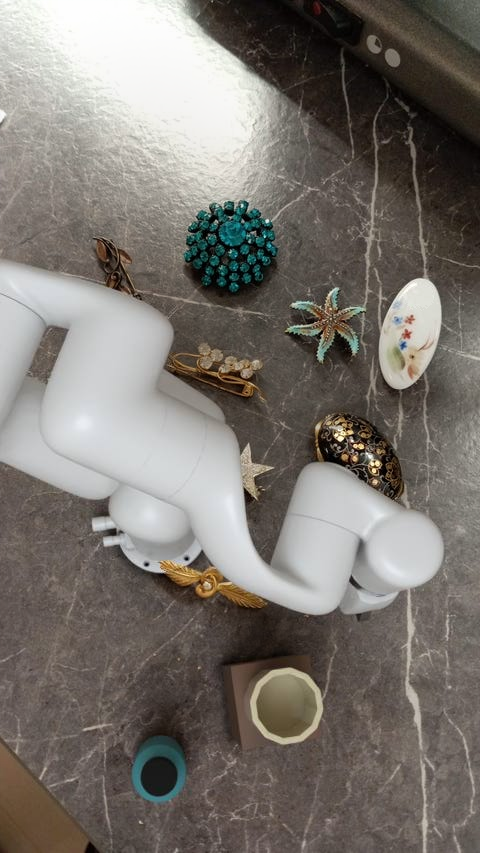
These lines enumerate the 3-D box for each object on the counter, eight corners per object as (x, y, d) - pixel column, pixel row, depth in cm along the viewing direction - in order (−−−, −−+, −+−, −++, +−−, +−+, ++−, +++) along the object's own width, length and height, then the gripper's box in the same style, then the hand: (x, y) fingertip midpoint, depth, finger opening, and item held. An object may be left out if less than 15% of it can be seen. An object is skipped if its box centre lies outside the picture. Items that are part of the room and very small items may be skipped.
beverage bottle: (134, 735, 118) (125, 749, 98) (185, 730, 118) (186, 743, 99) (136, 788, 116) (128, 813, 97) (188, 783, 117) (190, 807, 97)
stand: (231, 735, 119) (242, 750, 98) (221, 665, 121) (230, 666, 100) (298, 724, 119) (323, 737, 99) (287, 655, 122) (309, 653, 101)
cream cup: (249, 740, 99) (256, 749, 89) (239, 673, 100) (245, 674, 91) (313, 730, 99) (328, 737, 90) (302, 663, 101) (315, 663, 91)
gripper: (330, 490, 96) (303, 515, 114) (356, 641, 92) (324, 643, 110) (398, 481, 97) (360, 508, 115) (426, 630, 93) (383, 634, 111)
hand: (343, 574), depth 112 cm, fingers closed
